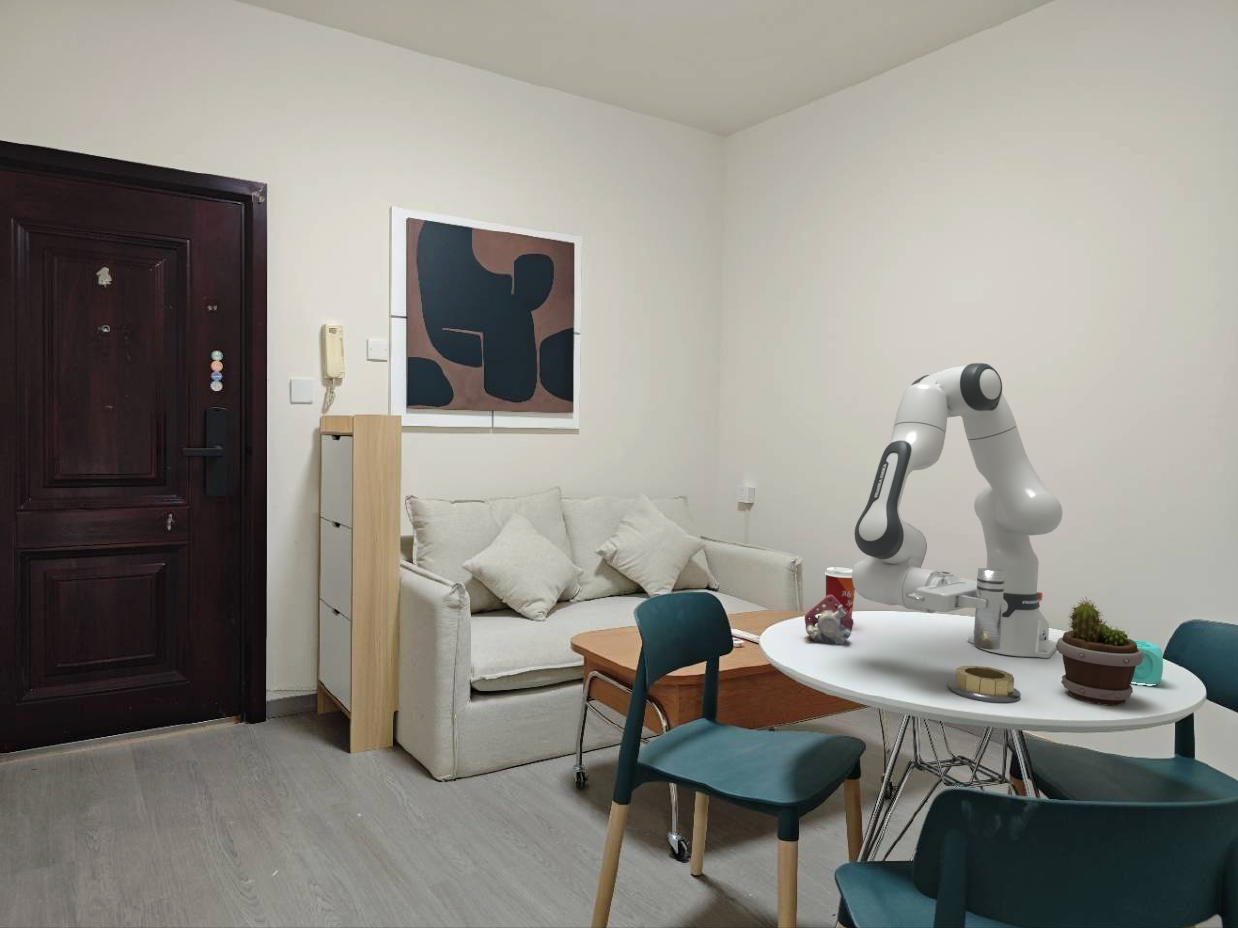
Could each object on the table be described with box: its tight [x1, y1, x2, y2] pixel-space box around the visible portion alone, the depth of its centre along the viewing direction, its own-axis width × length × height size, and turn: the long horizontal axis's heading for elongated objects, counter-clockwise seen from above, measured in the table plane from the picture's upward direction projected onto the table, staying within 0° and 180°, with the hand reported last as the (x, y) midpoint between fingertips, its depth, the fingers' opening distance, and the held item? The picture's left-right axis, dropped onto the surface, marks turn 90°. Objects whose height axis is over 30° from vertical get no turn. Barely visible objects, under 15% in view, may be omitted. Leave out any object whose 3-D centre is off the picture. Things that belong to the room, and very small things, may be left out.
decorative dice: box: [1130, 638, 1164, 685], centre depth 181 cm, size 8×8×8 cm
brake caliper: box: [804, 595, 855, 645], centre depth 203 cm, size 11×11×12 cm
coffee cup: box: [824, 566, 856, 625], centre depth 218 cm, size 8×8×15 cm
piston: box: [972, 567, 1005, 650], centre depth 167 cm, size 5×5×15 cm
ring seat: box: [947, 665, 1022, 704], centre depth 167 cm, size 13×13×4 cm
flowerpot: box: [1056, 597, 1144, 706], centre depth 167 cm, size 14×15×20 cm
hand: (993, 602), depth 166 cm, fingers closed on piston, 5 cm apart
